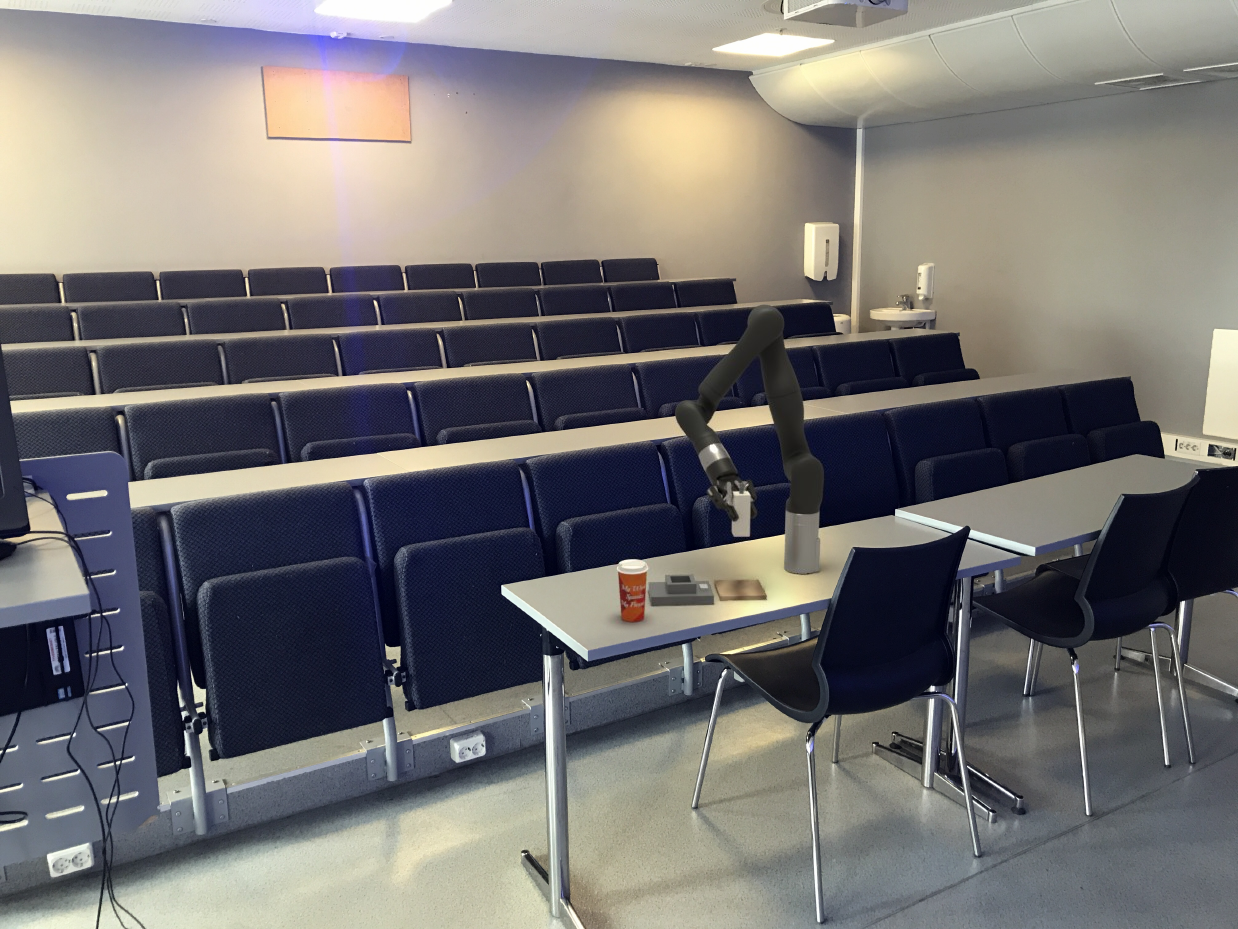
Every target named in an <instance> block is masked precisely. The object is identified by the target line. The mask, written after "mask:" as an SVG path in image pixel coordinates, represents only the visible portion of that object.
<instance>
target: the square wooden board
mask: <svg viewBox="0 0 1238 929" xmlns="http://www.w3.org/2000/svg"><path fill="white" fill-rule="evenodd" d="M713 584H714V588H715V591H716V593H717V596H718V598H719V601H720V602H723V601H728V600H732V601H761V600H762V601H767V600H768V596H767V593H766V591H765V589H764V588H763V585H762V584H761V581H760V580H759V578H758V579H721V580H720V579H718V580H715V579H714V580H713Z"/></svg>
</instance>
